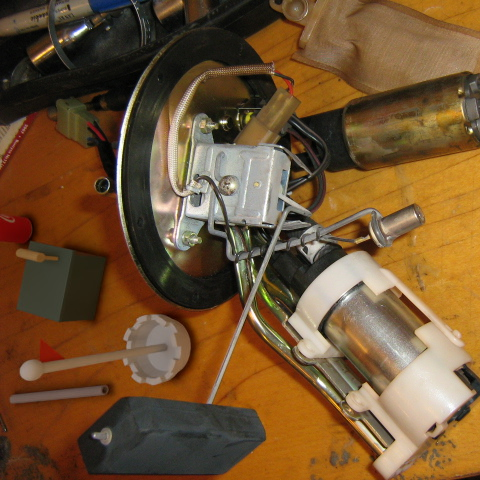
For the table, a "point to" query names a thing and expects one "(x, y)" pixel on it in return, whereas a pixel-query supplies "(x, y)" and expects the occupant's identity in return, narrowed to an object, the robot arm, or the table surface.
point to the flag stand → (128, 352)
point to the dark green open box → (84, 287)
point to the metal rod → (59, 394)
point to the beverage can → (14, 229)
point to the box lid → (45, 280)
